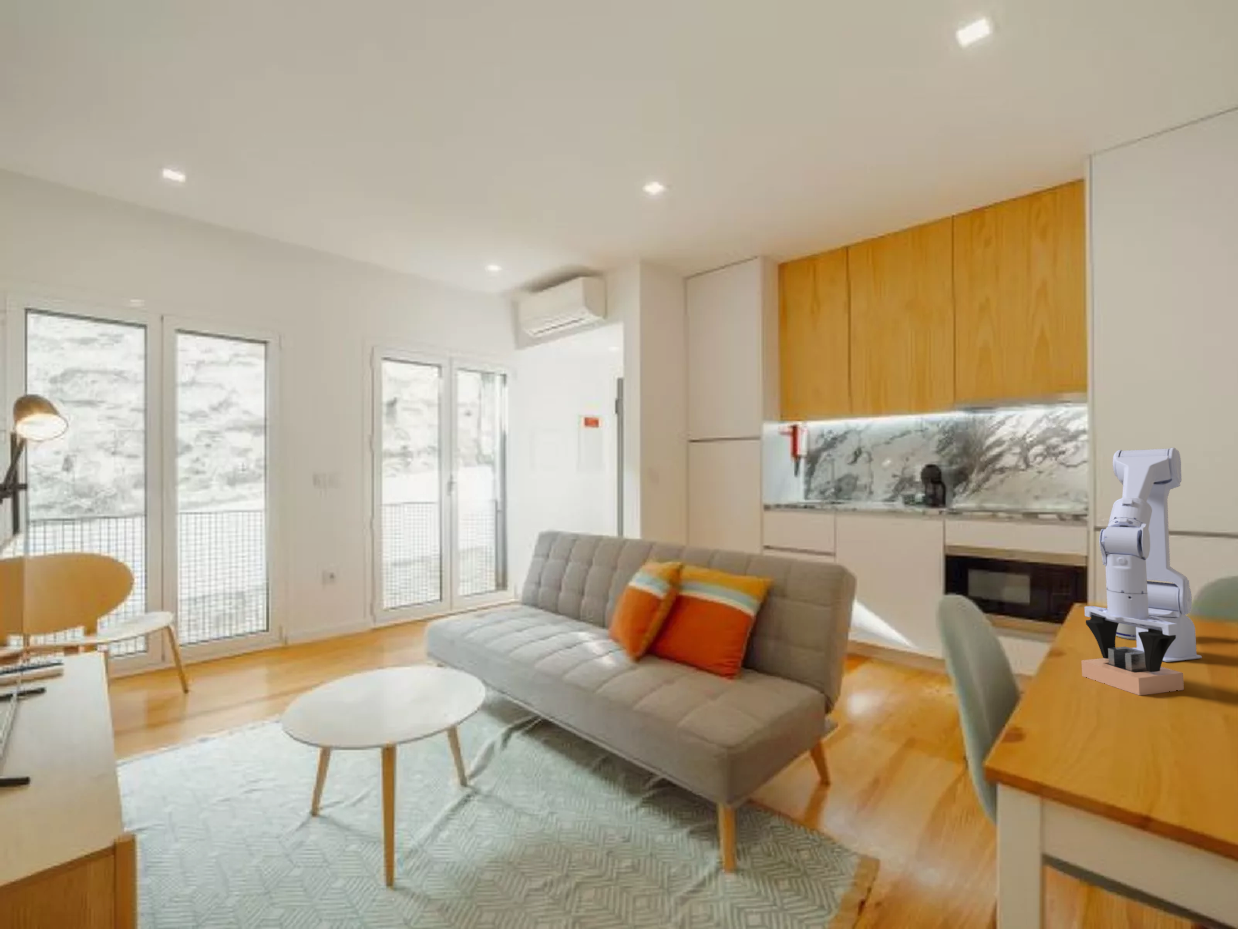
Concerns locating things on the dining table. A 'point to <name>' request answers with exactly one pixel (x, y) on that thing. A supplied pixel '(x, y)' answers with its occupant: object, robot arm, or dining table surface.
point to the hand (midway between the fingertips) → (1130, 664)
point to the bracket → (1127, 659)
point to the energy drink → (1126, 631)
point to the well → (1132, 677)
